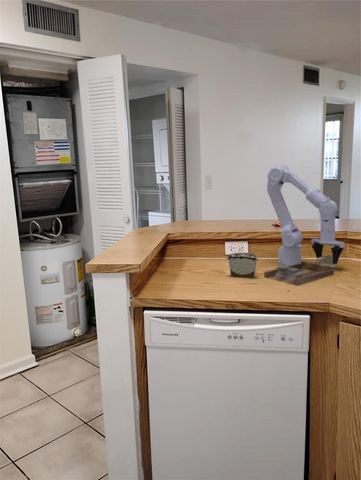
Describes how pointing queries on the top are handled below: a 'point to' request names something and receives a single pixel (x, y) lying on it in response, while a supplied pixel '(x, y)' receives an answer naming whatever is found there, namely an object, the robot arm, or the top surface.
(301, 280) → the walnut tray
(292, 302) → the top surface
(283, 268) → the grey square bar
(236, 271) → the food container
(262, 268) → the top surface
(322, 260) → the grey rectangular block
